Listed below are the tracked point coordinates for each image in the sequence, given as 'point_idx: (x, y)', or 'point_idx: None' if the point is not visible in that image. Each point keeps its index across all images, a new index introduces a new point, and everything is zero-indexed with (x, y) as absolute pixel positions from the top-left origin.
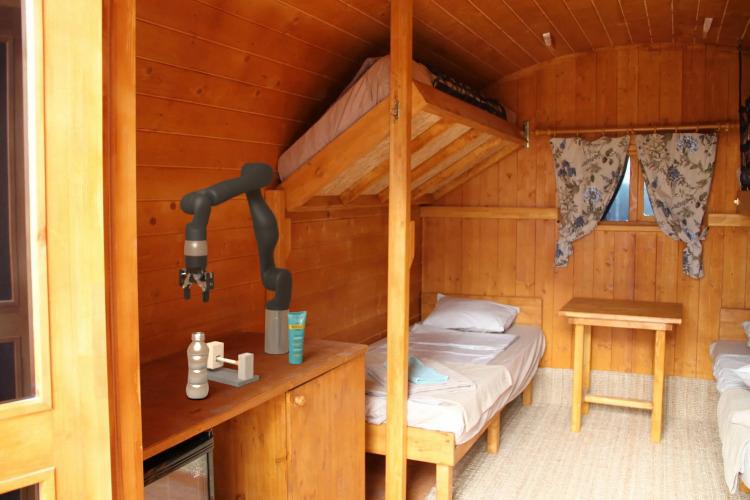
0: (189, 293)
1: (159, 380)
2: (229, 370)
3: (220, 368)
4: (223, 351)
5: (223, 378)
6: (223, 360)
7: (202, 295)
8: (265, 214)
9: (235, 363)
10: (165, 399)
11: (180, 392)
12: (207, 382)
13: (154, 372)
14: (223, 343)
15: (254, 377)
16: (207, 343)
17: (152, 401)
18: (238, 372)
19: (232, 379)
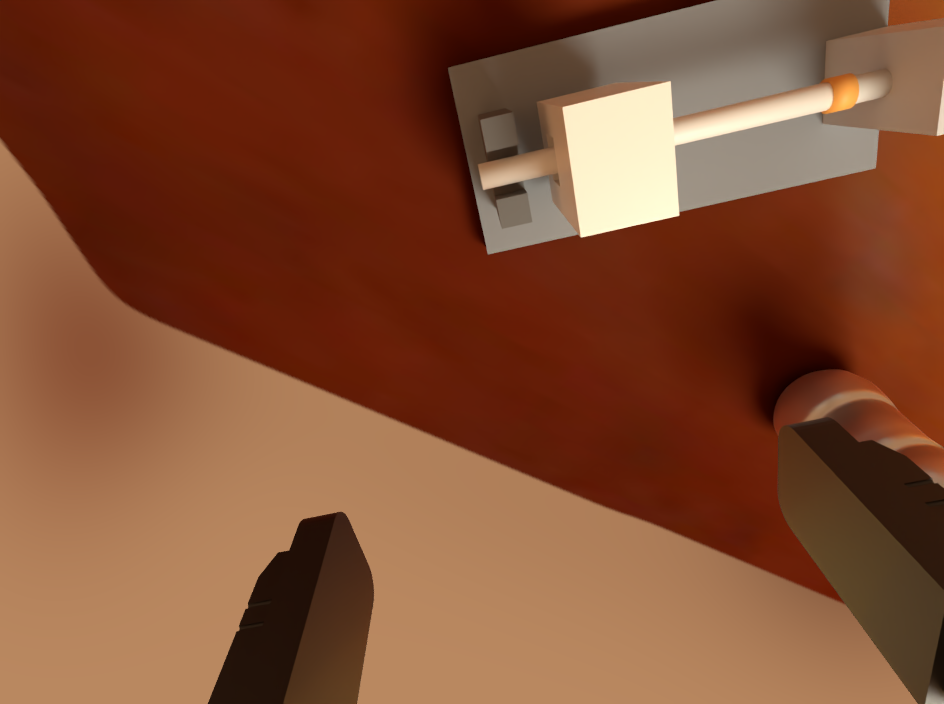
0: (322, 610)
1: (471, 400)
2: (645, 53)
3: (564, 74)
4: (646, 82)
5: (748, 190)
6: (704, 138)
7: (864, 623)
8: None
9: (826, 113)
10: (719, 491)
11: (692, 414)
12: (888, 403)
13: (328, 359)
14: (668, 83)
15: (887, 12)
16: (584, 209)
17: (700, 530)
18: (851, 126)
19: (805, 160)
